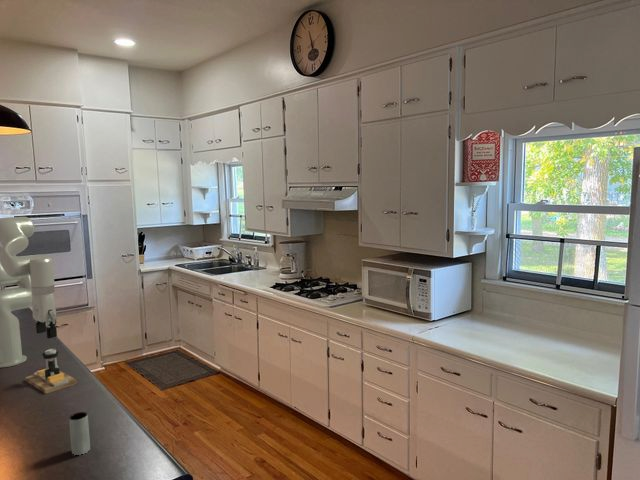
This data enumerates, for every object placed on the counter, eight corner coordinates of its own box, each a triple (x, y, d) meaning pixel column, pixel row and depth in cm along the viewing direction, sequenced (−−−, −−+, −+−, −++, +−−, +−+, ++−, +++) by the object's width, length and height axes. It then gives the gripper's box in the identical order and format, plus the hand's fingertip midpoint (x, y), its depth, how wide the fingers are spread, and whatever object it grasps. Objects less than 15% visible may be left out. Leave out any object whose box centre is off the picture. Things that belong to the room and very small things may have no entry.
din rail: (33, 374, 182) (33, 372, 182) (47, 370, 186) (47, 368, 186) (54, 386, 170) (54, 384, 170) (68, 382, 174) (68, 380, 174)
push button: (40, 380, 174) (38, 354, 173) (39, 376, 178) (37, 350, 177) (61, 376, 177) (58, 350, 176) (59, 372, 182) (57, 347, 181)
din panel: (25, 381, 180) (25, 377, 179) (56, 372, 188) (55, 368, 188) (45, 393, 168) (45, 389, 167) (77, 383, 176) (76, 379, 176)
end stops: (37, 374, 179) (36, 371, 179) (51, 370, 183) (50, 367, 183) (50, 382, 172) (49, 378, 172) (64, 378, 176) (64, 374, 176)
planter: (76, 447, 131) (73, 412, 130) (92, 446, 132) (90, 411, 130) (69, 456, 127) (65, 420, 126) (86, 455, 127) (83, 419, 126)
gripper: (23, 289, 177) (26, 333, 179) (41, 295, 166) (45, 342, 168) (44, 285, 183) (48, 328, 184) (63, 291, 172) (67, 336, 174)
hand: (46, 334), depth 176 cm, fingers open, 9 cm apart
